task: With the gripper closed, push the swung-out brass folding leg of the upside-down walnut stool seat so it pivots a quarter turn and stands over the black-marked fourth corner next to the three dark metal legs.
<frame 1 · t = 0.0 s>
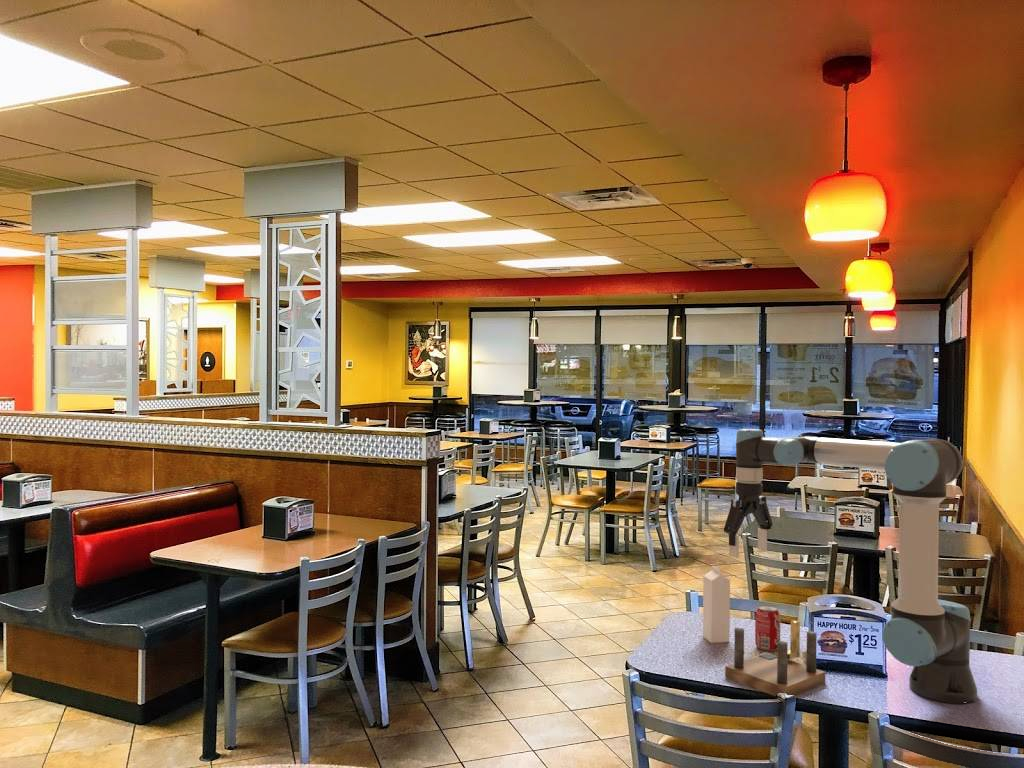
hand: (748, 553, 230), 28 cm above the table, tool pointing down, fingers open, 13 cm apart
milk: (716, 639, 238), on the table
soda can: (767, 648, 231), on the table
hinged leg: (792, 639, 213), point 8 cm above the table, hinge at 0.0°
stool seat: (774, 680, 206), on the table
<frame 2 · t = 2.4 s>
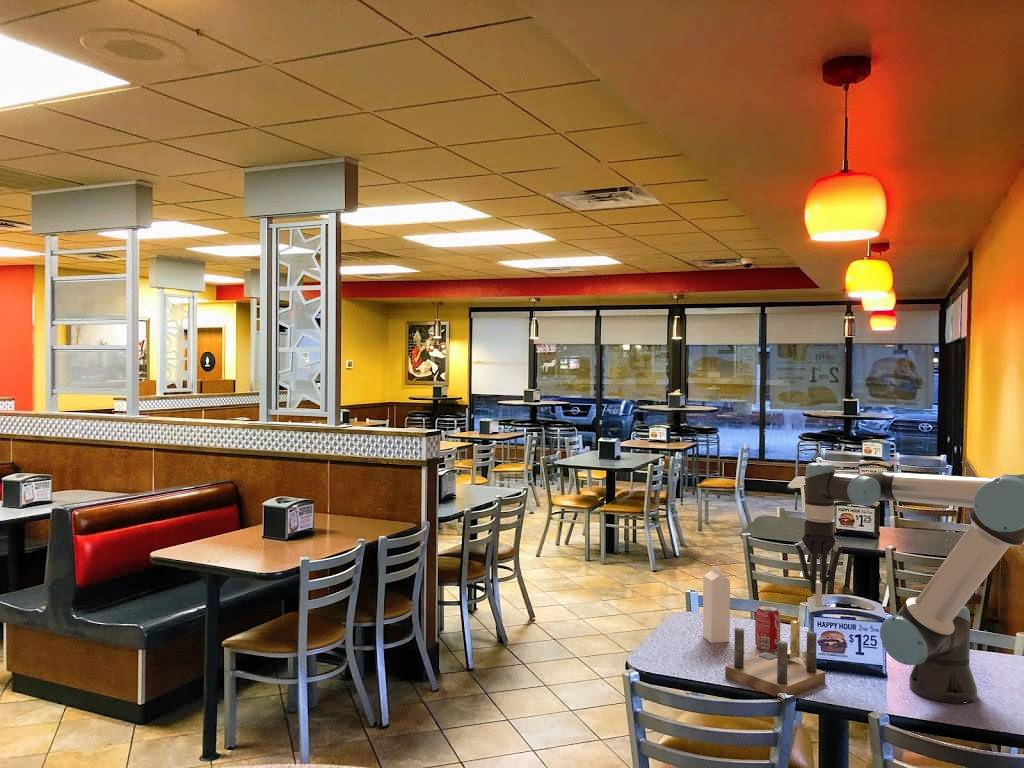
hand: (817, 605, 214), 17 cm above the table, tool pointing down, fingers closed
nothing on the table moved.
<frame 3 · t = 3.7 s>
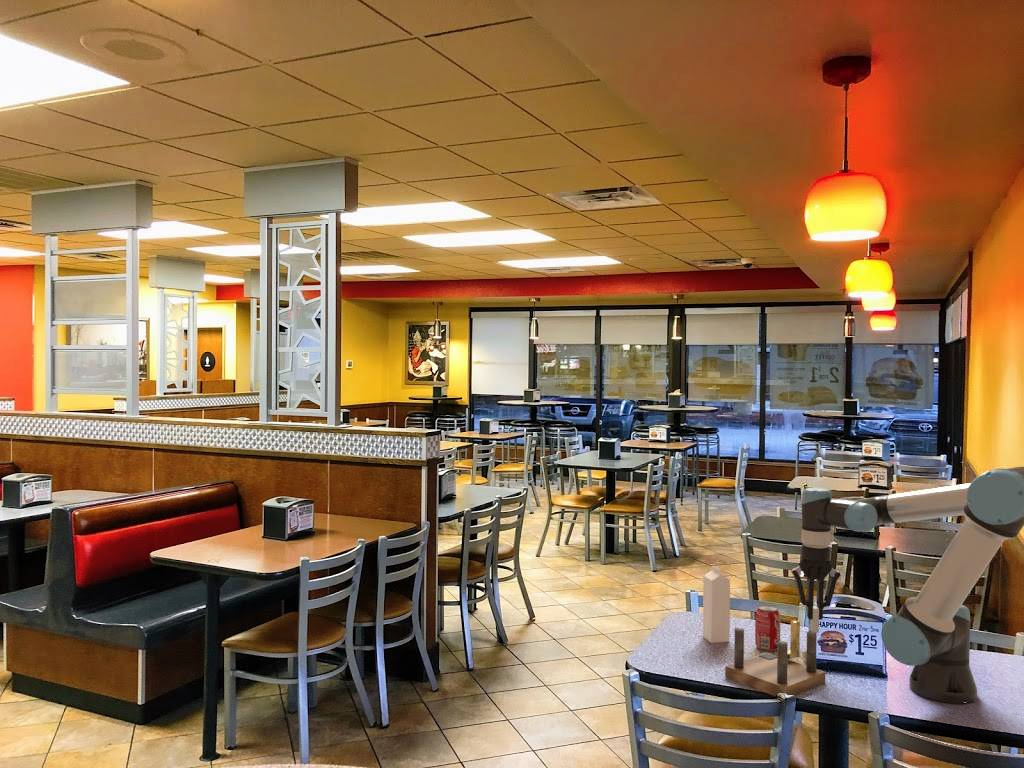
hand: (814, 630, 214), 10 cm above the table, tool pointing down, fingers closed
nothing on the table moved.
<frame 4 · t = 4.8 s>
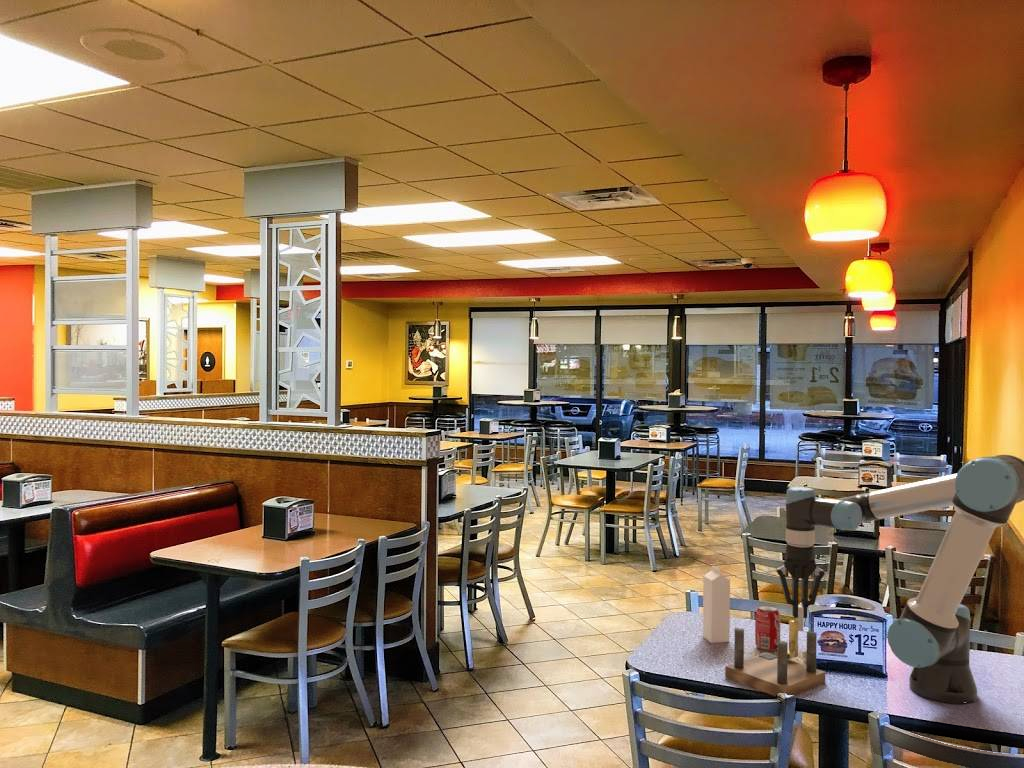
hand: (799, 629, 215), 11 cm above the table, tool pointing down, fingers closed
hinged leg: (791, 639, 213), point 8 cm above the table, hinge at 5.2°, touching gripper
everything else where it was.
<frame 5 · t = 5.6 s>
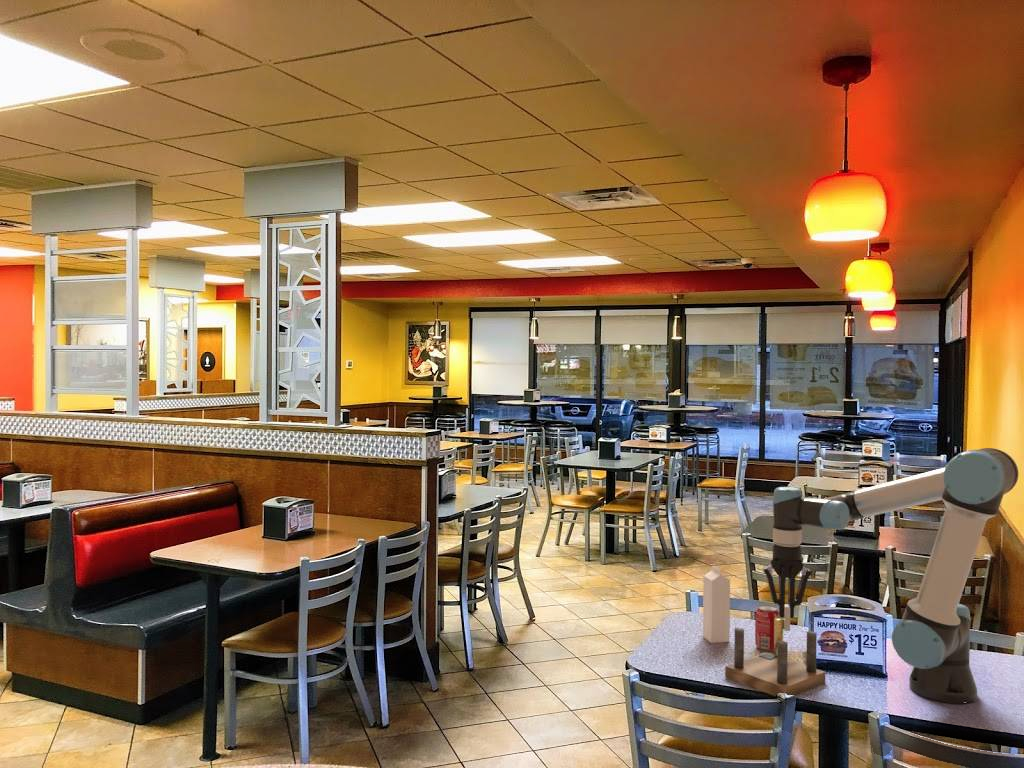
hand: (786, 629, 215), 11 cm above the table, tool pointing down, fingers closed
hinged leg: (780, 637, 215), point 8 cm above the table, hinge at 51.0°, touching gripper
everything else where it was.
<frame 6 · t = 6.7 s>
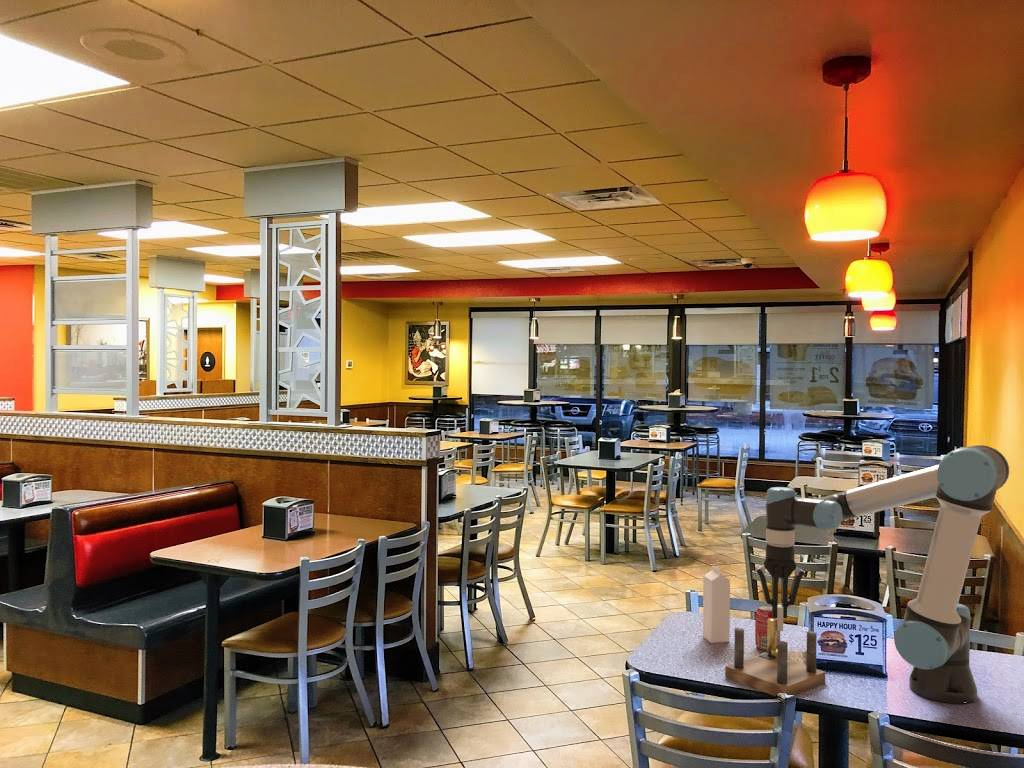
hand: (779, 629, 215), 10 cm above the table, tool pointing down, fingers closed
hinged leg: (775, 638, 214), point 8 cm above the table, hinge at 74.1°, touching gripper
everything else where it was.
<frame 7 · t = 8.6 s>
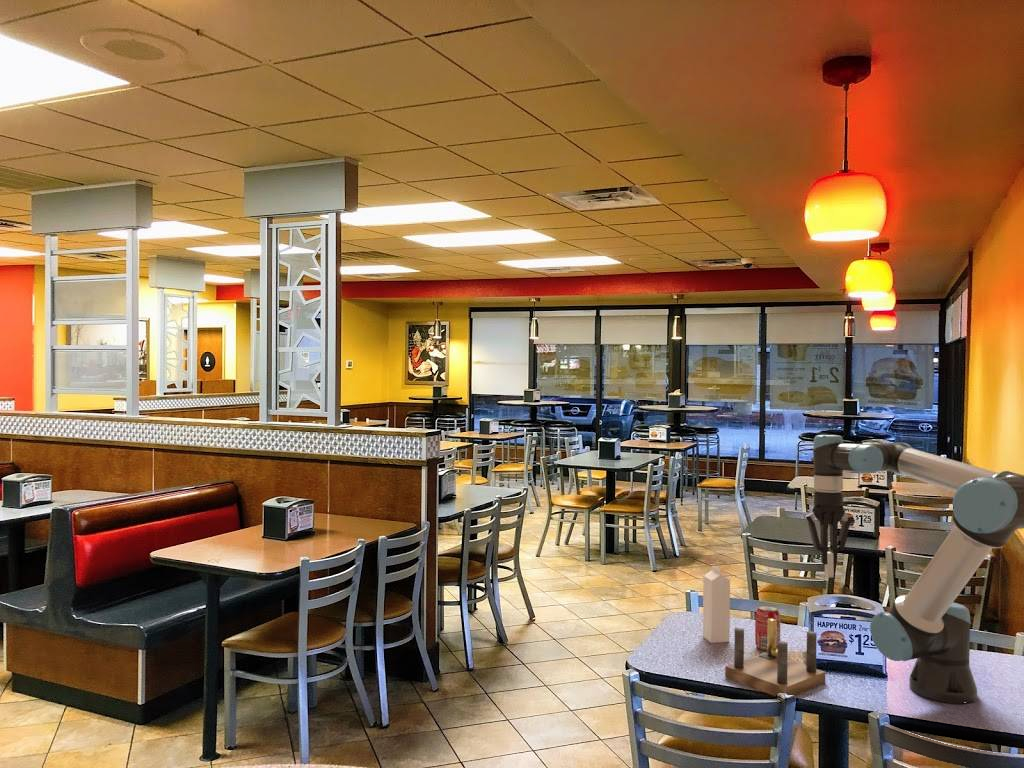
hand: (829, 576, 216), 25 cm above the table, tool pointing down, fingers closed
hinged leg: (775, 638, 214), point 8 cm above the table, hinge at 74.2°
everything else where it was.
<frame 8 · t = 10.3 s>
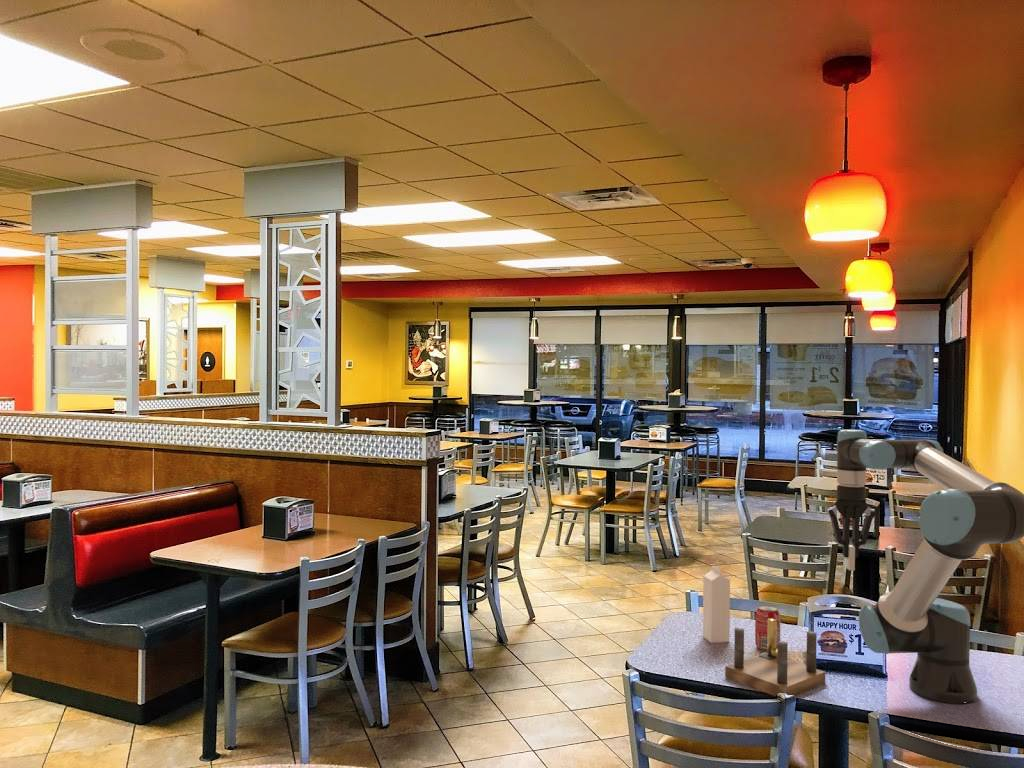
hand: (850, 569, 219), 26 cm above the table, tool pointing down, fingers closed
nothing on the table moved.
at the end: hinged leg at +74° (first picture: +0°); the gripper is holding nothing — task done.
